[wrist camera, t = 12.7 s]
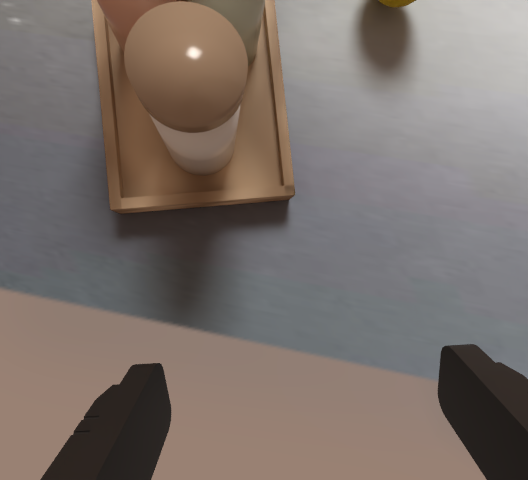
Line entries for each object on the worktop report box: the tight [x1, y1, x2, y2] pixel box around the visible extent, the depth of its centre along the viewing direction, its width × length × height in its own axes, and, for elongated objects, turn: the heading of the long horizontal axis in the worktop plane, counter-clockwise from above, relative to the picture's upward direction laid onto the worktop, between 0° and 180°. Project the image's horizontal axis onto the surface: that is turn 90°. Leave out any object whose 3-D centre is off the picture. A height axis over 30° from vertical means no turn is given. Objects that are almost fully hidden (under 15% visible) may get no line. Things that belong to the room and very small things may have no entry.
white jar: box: [124, 1, 248, 176], centre depth 19 cm, size 5×5×11 cm
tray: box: [92, 0, 295, 214], centre depth 25 cm, size 14×17×2 cm
